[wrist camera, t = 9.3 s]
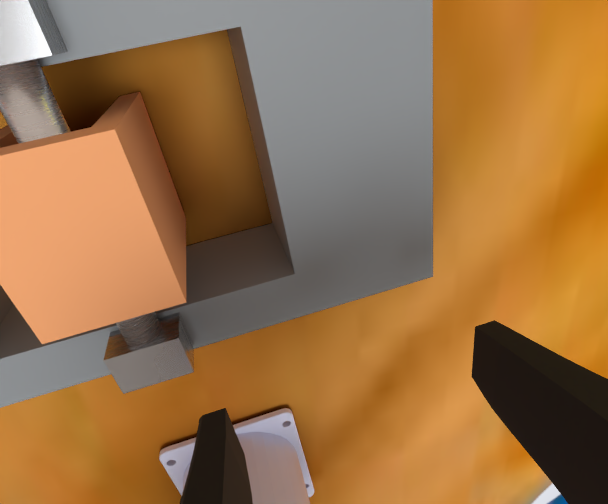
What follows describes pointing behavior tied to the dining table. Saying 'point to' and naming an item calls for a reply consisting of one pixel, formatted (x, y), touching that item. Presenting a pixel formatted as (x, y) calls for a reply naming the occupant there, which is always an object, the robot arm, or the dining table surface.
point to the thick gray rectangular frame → (272, 162)
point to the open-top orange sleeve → (90, 225)
